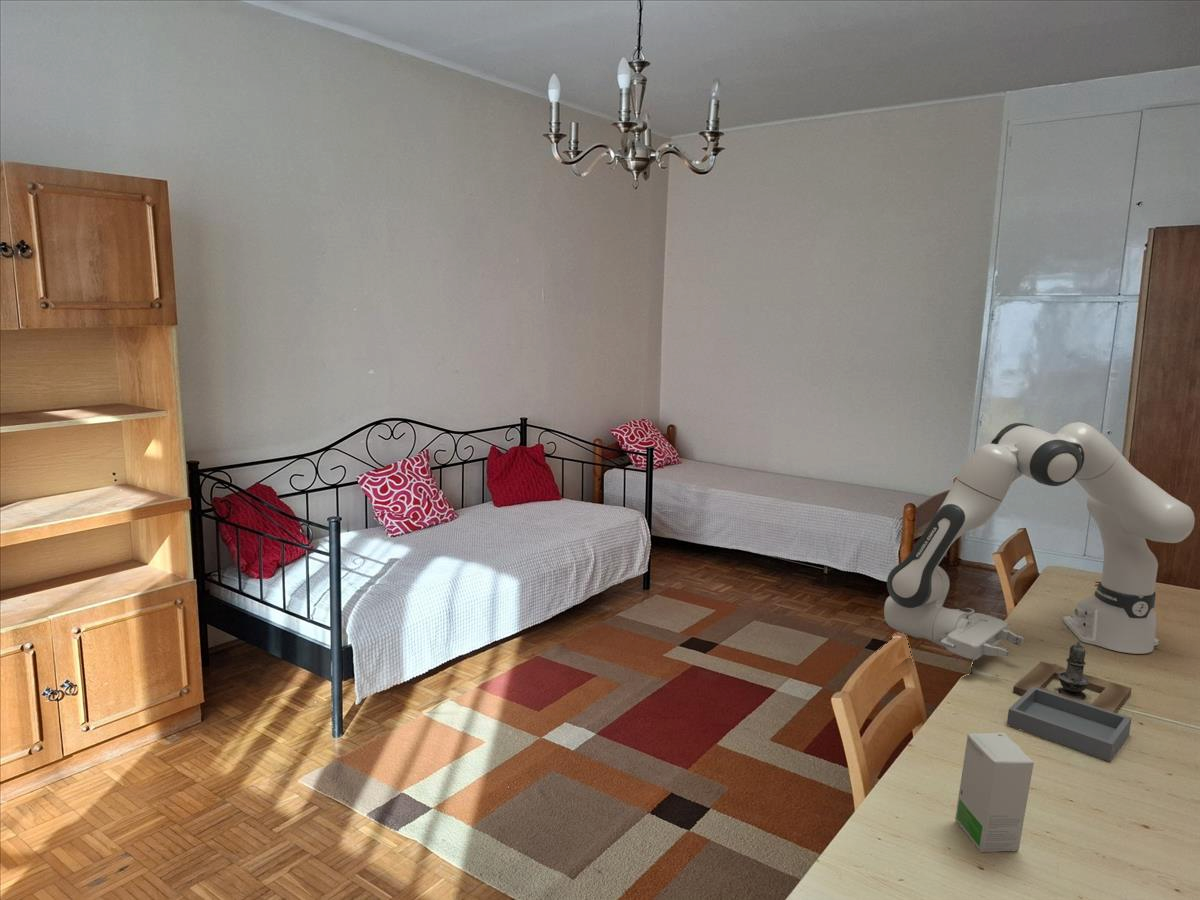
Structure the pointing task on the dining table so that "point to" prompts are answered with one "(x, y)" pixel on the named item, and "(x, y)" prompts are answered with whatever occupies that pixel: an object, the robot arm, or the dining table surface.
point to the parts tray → (1070, 723)
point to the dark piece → (1074, 674)
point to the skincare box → (993, 791)
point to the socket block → (1108, 699)
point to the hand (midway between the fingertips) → (1014, 647)
